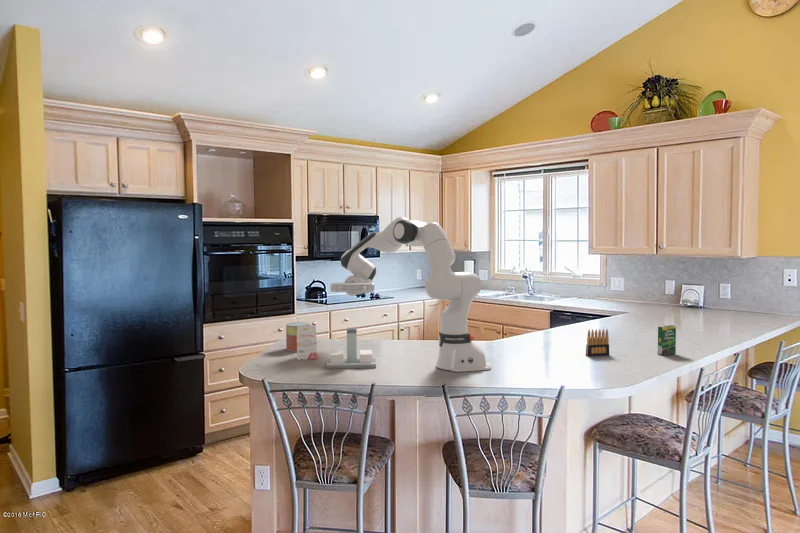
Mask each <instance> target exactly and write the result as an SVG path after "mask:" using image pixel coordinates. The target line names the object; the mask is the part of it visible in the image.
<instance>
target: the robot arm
mask: <svg viewBox="0 0 800 533" xmlns="http://www.w3.org/2000/svg"><path fill="white" fill-rule="evenodd" d="M449 239H450V238H449V237H448V235H447V233H446V232H445V230H444V228H443V227H442V226H441V225H440V224H439V223H437V222H434V221H432V222H424V221H421V220H413V219H411V220H410V219H409V218H407V217H404V216H398V217H396V218H395V219H394V220H392V221H391V222H390V223H388V224H387V226H386V227H385V228H384V229H383V230H382V231H378V232H376V231H373V232H371V233H369V234H368V235H367V236H365V237H364V238H363V239H362V240H360V241H359V242H357V243H356V244H355V245H354V246H352V247H350V249H348V250H346V251H345V252H344V253H343V254H342V255H341V258H340V264H341V267H342V268H344V269H345V270H347V271H349V272H350V273H351V275H349V276H348V277H346V278H345V279H344V282H332V283H331V284H330V286H329V287H330V288H329V289H330V292H332V293H345V294H347V295H349V296H359V295H362V294H363V295H364V294H371V293H373V292H375V283H374V282H373V279H374V278H375V276H376V274H377V267H376V265H374V264H373V263H372V262H371V261H369V260H368V259H367V258H365V257H364V256H363V255H362V254H360V253H361V252H363V251H364V250H366V249H367V248H372V249H375V250H378V251H381V252H382V253H385V254H386V253H387V254H390V253H391V254H393V253H395V252H397V251H398V250H399V249H400V248H402V246H404V245H409V246H414V247H423V249H424V250H425V251H424V252H425V253H426V256H427V258H428V262H429V265H430V274H429V276H428V278H427V280H425V281H426V282H425V287H424V288H425V292H426V294H427V296H428V297H429V298H430V299H432V300H439V301H447V300H449V302H448V304H447V306H446V307H445V308H444V309H443V310H442V311H441V313H440V316H439V318H440V319H439V321H440V322H439V323H440V324H439V326H440V327H439V334H438V346H439V351H438V355H437V356H438V357H437V361H436V364H435V366H436V368H438V369H440V370H445V371H451V372H455V373H456V372H457V373H459V372H460V373H461V372H476V371H478V372H479V371H490V370H491V369H492V364H491V363H490V362H488V361H487V359H486V355H485V352H484V351H483V349H481V348H480V347H479V346H477V345H476V344H475V343H474V342H473V341H474V340H475V335H473V334H471V333H469V332H468V317H469V316H468V315H469V311H470V308H471V306H472V303H473V301H474V299H475V298H476V297H477V296H478V294H480V292H481V289H482V280H481V278H480V277H479V275H478V274H477V273H473V272H469V271H458V272H454V271H453V270H452V268H451V266H452V265H453V264H454V263H455V261H456V253H455V251H454V249H453V245H452V244H451V242H450V240H449Z"/></svg>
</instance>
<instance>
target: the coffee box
mask: <svg viewBox="0 0 800 533" xmlns="http://www.w3.org/2000/svg"><path fill="white" fill-rule="evenodd" d="M676 337H677V326H676V325H673V324H669V325H660V326H657V355H658V356H671V355H676V354H677V353H676V352H677V351H676V347H677V342H676V341H677V340H676V339H677V338H676Z"/></svg>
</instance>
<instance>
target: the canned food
mask: <svg viewBox="0 0 800 533" xmlns="http://www.w3.org/2000/svg"><path fill="white" fill-rule="evenodd" d="M298 326H311V323H309V322H304V321H303V322H301V321H299V322H298V321H297V322H289V323H288V322H287V323H286V324H285V332H286V336H285V337H286V339H285V340H286V344H285V345H286V346H285V347H286V349H285V350H286V351H288V352H296V353H297V327H298ZM303 330H310V329H308V328H306V329H303Z"/></svg>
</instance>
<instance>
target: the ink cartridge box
mask: <svg viewBox="0 0 800 533" xmlns="http://www.w3.org/2000/svg"><path fill="white" fill-rule="evenodd" d="M306 328H308V329H310V330H303V329H306ZM317 344H318V343H317V327H316V325H310V326H298V327H297V352H296V355H297V356H296V358H297V360H298V361H299V360H301V359H303V360H317V359H318V352H317V350H318V349H317V348H318V346H317Z"/></svg>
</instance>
